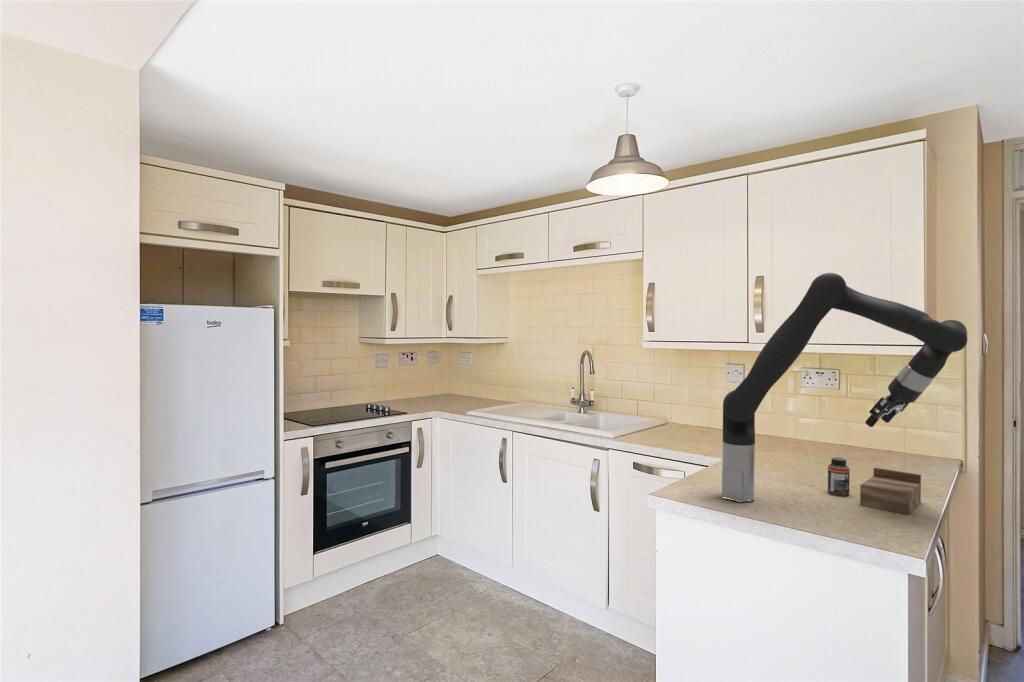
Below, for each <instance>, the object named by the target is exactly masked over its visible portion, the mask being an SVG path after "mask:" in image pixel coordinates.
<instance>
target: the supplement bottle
mask: <svg viewBox="0 0 1024 682" xmlns="http://www.w3.org/2000/svg"><path fill="white" fill-rule="evenodd" d="M827 492H828V493H829V494H830V495H832V494H833V496H836V495H838V496H839V497H847V496H849V495H850V467H849V465H847V459H846V458H843V457H831V461H830V464H828V466H827ZM838 496H837V497H838Z"/></svg>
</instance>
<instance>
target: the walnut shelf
mask: <svg viewBox="0 0 1024 682" xmlns="http://www.w3.org/2000/svg"><path fill="white" fill-rule="evenodd" d="M921 488H922V474H919V473H912V472H907V471H899V470H893V469H887V468H879V467H873V476H871V477H870V478H869V479H867V480H866V481H864V482H863V483H861V484H860V488H859V489H860V490H859V491H860V492H859V493H860V494H859V495H860V496H859V497H860V498H859V499H860V500H859V505H860V506H864V507H869V508H873V509H879V510H883V511H888V512H894V513H898V514H902V515H907V516H909V515H911V513H912V512H913V511H914V510H915V509H916V508H917V507H918V506H919V505H920V504H921V501H922V500H921V499H922V497H921V496H922V495H921V493H922V491H921V490H922V489H921Z"/></svg>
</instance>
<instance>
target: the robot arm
mask: <svg viewBox="0 0 1024 682" xmlns="http://www.w3.org/2000/svg"><path fill="white" fill-rule="evenodd" d="M832 309H834V310H840V311H842V312H847V313H850V314H853V315H856V316H860V317H861V318H864V319H865V318H866V319H868V320H870V321H873V322H875V323H877V324H880V325H883V326H884V327H888V328H891V329H893V330H895V331H898V332H900V333H903V334H905V335H909V336H911V337H914V338H916V339H917V340H918V341H920V342H922V343H923V345H922V347H921V348H920V349H919V350H918V351H917V352H916V353H915V354H914V356H913V357H912V358H911V359H910V360H909V362H908V363H907V364H906V365H905V366H903V368H901V370H900V371H899V372H898V373H897V375H895V377H894V378H893V380H892V381H891V382H890V383H889V385H888V386H887V389H888V392H889V393H890V394H889V395H886V396H885V397H883V396H882V397H880V399H879V400H878V401H877V402H876V403H875V404H874V405H873V407H872V408H871V409H870V410H869V411H868V413H869V414H870V415H869V417H868V418H867V419H866V420H865V425H867V426H868V428H869V427H870V428H874V426H875V425H876V424H877V423H878V421H880V419H881V421H884V423H886V424H888V423H890V422H892V419H893V418H895V416H896V415H899V414H900V413H902V412H904V410H905V409H906V408H907V407H908V406H909V404H911V403H912V404H913V403H915V402H916V401H917V400H918V398H920V396H921V395H922V394H923V393H924V392H925V390H927V388H928V387H929V386H930V385H931V383H932V382H933V380H934V379H935V378H936V377H937V375H938V374H939V373H940V372H941V371H942V370H943V368H944V367H945V365H946V364H947V360H948V358H949V356H950V355H951V354H952V353H955V352H960V351H962V350H963V349H964V348H965V347H966V345H967V343H968V329H967V327H966V326H965V324H963V323H962V322H961V321H959V320H957V319H956V320H955V319H946V320H943V321H942V322H940V321H937V320H935V319H933V318H931V316H930V315H929V314H928V313H926V312H924V311H921V310H918V309H916V308H913V307H911V306H910V305H909V306H908V305H906V304H903V303H900V302H897V301H892V300H888V299H883V298H879V297H875V296H871V295H869V294H865V293H862V292H860V291H858V290H855V289H853V288H852V287H850V286H848V285H847V283H846V280H845V279H844V277H842V276H841V275H839V274H838V273H834V272H826V273H822V274H820V275H818V276H816V277H815V278H814V280H812V282H811V283H810V285H809V288H808V289H807V291H806V293H805V294H804V296H803V298H802V299H801V300H800V302H799V304H798V305H797V307H796V308H795V310H794V311H793V312H792V313H791V314H790V315H789V316H788V317H787V318H786V320H784V321H783V322H782V324H780V326H779V327H778V328H777V330H775V332H774V333H773V334H772V336H771V337H770V338H769V339H768V341H767V342H766V343H765V344H764V346H763V348H762V349H761V351H760V352H759V354H758V356H757V357H756V359H755V361H754V363H753V365H752V367H751V368H750V370H749V373H748V374H747V376H746V377H745V378H744V379H743V380H742V382H740V383H739V385H737V387H736V388H735V389H733V390H731V391H729V392H728V393H727V394H726V395H725V397H723V402H722V457H721V458H722V460H721V461H722V464H721V465H722V468H721V482H722V483H721V498H722V497H726V498H730V499H734V500H738V501H748V500H753V499H754V500H755V471H756V470H755V464H756V463H755V462H756V460H755V459H756V456H755V455H756V453H755V451H756V428H755V424H756V423H755V420H756V419H755V416H756V412H757V410H758V408H759V407H760V405H761V403H762V402H763V400H764V399H765V396H766V395H767V394H768V393H769V391H770V389H772V387H773V386H774V385H775V384H776V383H777V382H778V381H779V380H780V379H782V377H783V376H784V374H785V373H786V372H787V371H788V370H789V369H790V368H791V366H792V365H793V364H794V362H795V361H796V360H797V359H798V358H799V356H800V355H801V354H802V352H803V351H804V349H805V348H806V346H807V345H808V343H809V341H810V340H811V338H812V336H813V335H814V333H815V330H816V328H817V327H818V325H819V324H820V323H821V321H823V319H824V318H825V317H826V316H827V314H828V313H829V312H831V310H832Z"/></svg>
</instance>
